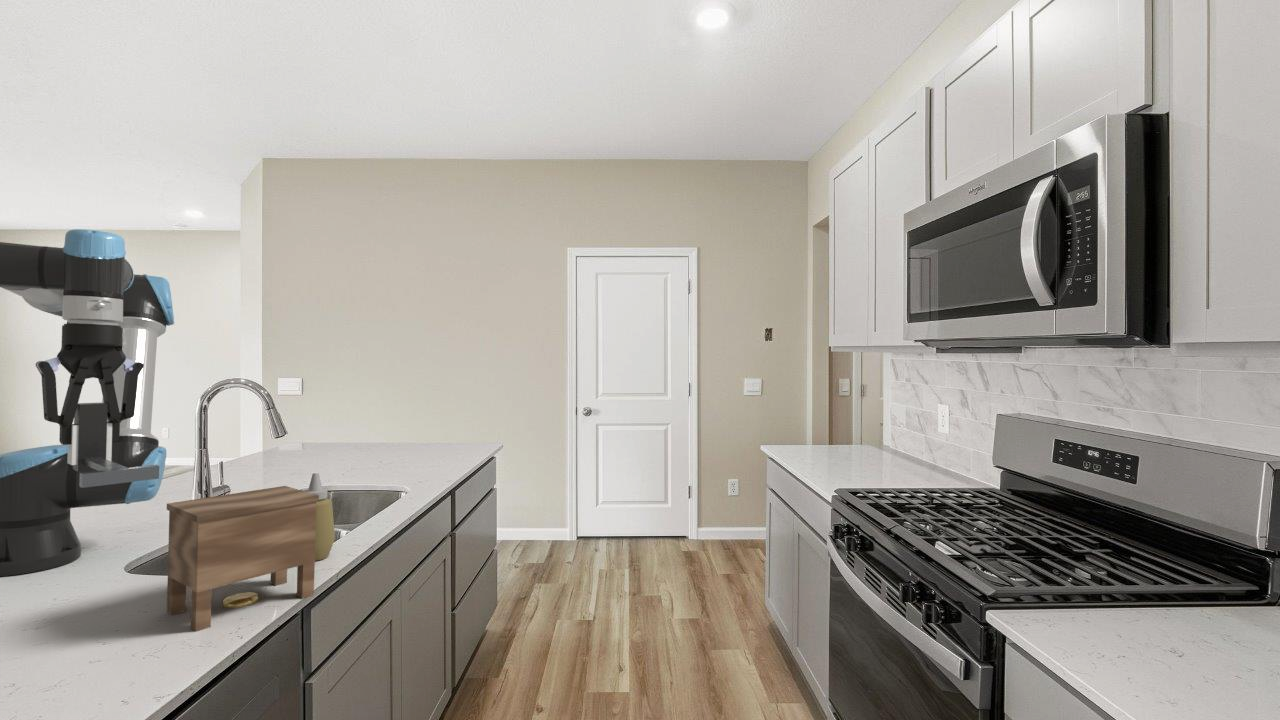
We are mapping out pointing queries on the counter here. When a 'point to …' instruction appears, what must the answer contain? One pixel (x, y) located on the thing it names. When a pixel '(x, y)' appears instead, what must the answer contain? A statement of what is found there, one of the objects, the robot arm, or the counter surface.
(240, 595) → the brass token
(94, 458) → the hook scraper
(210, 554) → the walnut cabinet
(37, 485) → the robot arm
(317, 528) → the squeeze bottle
